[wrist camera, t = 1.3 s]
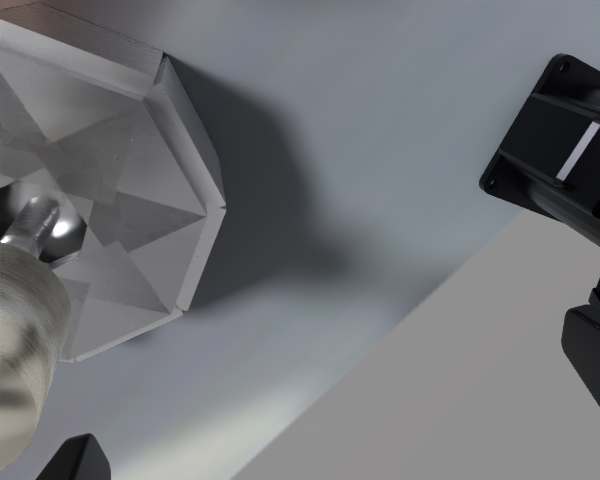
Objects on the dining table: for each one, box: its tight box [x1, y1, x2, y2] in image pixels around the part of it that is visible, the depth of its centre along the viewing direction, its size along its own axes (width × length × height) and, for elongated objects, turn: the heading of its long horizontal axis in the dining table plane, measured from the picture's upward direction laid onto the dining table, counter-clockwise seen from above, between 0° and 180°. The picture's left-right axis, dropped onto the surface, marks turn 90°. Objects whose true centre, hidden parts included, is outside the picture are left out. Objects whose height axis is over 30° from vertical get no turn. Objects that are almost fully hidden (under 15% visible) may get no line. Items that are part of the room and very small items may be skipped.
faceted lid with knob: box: [0, 3, 226, 363], centre depth 17 cm, size 10×13×6 cm
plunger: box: [0, 180, 88, 470], centre depth 12 cm, size 8×8×9 cm
